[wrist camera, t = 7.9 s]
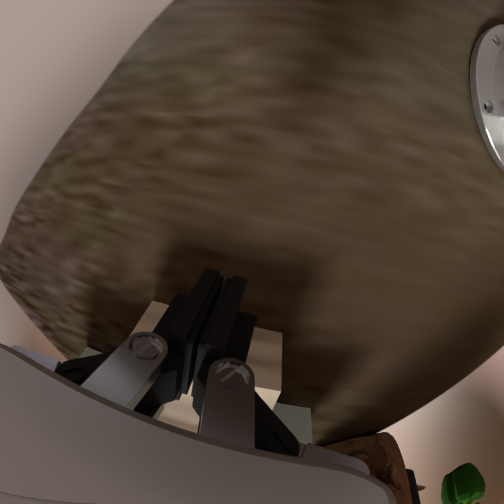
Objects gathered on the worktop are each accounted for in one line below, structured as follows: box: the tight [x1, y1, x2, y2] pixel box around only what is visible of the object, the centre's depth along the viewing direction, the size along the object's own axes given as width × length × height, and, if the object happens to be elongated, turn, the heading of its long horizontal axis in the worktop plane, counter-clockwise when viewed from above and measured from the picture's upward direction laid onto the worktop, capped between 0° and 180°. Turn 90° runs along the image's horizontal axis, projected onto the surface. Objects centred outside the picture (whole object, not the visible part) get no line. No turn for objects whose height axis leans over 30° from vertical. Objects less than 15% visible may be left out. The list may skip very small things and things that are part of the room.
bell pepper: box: [441, 463, 485, 504], centre depth 28 cm, size 8×8×10 cm
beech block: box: [130, 301, 282, 433], centre depth 21 cm, size 8×10×6 cm
